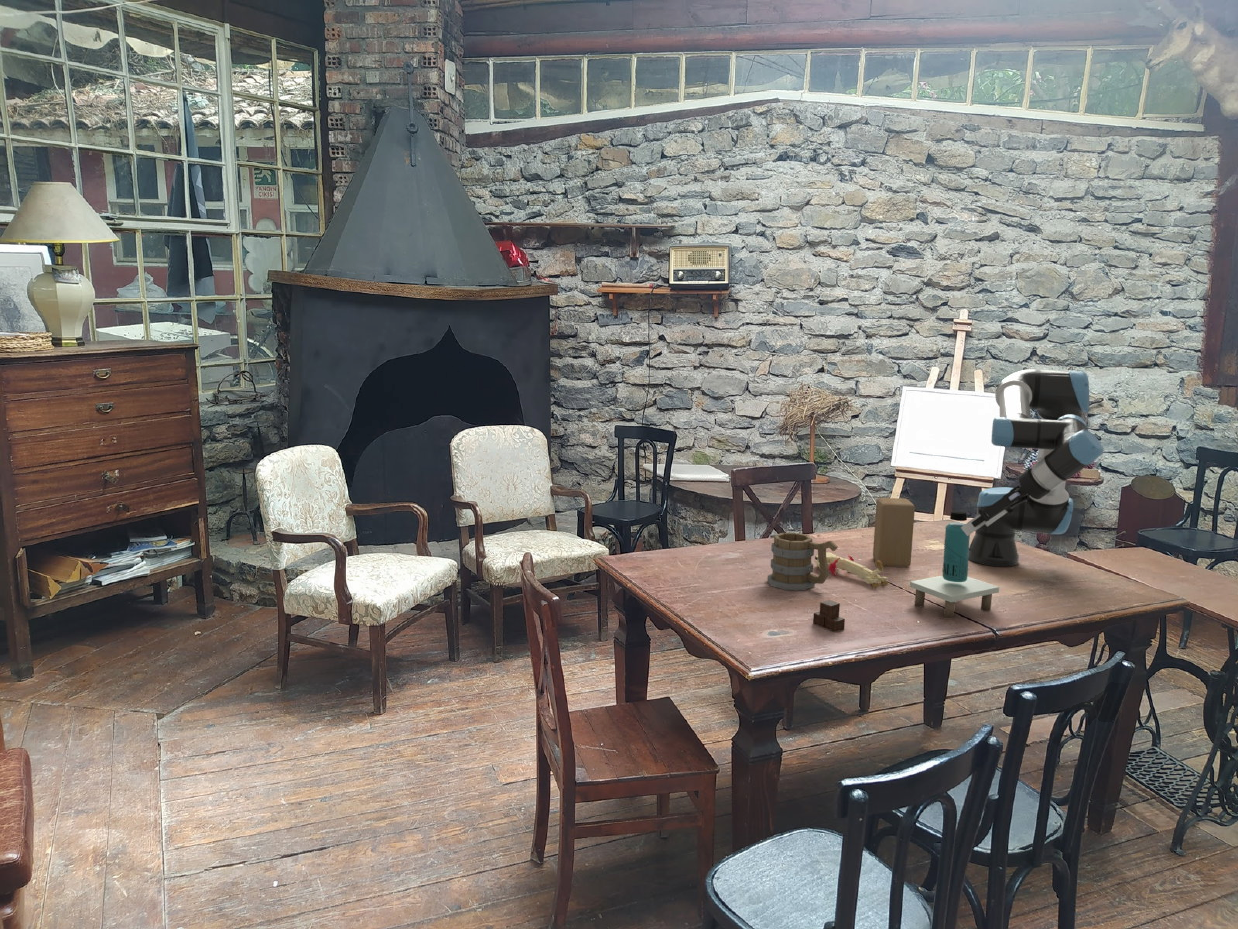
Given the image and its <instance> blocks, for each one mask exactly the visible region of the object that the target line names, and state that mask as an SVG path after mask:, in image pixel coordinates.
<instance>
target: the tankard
mask: <svg viewBox="0 0 1238 929" xmlns="http://www.w3.org/2000/svg"><path fill="white" fill-rule="evenodd" d="M838 548H839V547H838V545H837V544H836V543H834V542H833V540H828V541H825V542H820V543H817V542H813V539H812V538H811V537H810V535H808V534H803V533H799V532H781V533H777V534H775V535H774V536H773V543H771V548H770V550H771V552H772V553H773V556H772V559H770V568H771V571H772V573H770V574H768V575H767V577H766V578H767V582H768V583H769V585H770V587H773V588H775V589H778V590H779V589H781V590H784V591H803V592H804V591H806V590H808V589H812V588H813V587H815V586H816V584H820V585H821V584H822V585H823V584H824V583H825V582H826V581H827V579H828V578H829V572H830V570H829V567H828V563H827V559H826V552H827V549H830V550H831V551H832V552H835V551H836V550H837V549H838ZM815 550H817V556H818V560H819V564H820V567H819V568H821V569H820V573H819V575H815V574H812V573H813V572H814V564H813V563H812V557H813V556H814V555H815Z"/></svg>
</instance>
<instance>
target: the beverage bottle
mask: <svg viewBox="0 0 1238 929" xmlns="http://www.w3.org/2000/svg"><path fill="white" fill-rule="evenodd" d="M967 515H968V514H967V512H966V511H962V510H951V512H950V516H949V519H950V520H952V521H955V522H950V523H948V524H947V525H946V526H945V528H944V529H945V532H944V533H945V534H944V545H943V548H944V549H943V557H942V559H943V562H942V569H941V570H942V571H941V572H942V575H941V576H943V578H944V579H945V580H947V581H951V582H965V581H966V580H967V576H969V572H968V571H969V559H968V554H969V547H970V538H971V537H970V535H971V534H970V535H969V536H967V535H966V534H965V532H964V531H963V530H962V529H961V527H962V526H963V525H965V524H966V523H963V522H966V521H967V520H968V516H967Z"/></svg>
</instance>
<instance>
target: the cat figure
mask: <svg viewBox="0 0 1238 929" xmlns="http://www.w3.org/2000/svg"><path fill="white" fill-rule="evenodd" d="M847 557H848V558H843V557H841V556H839V555H837V554H836V553H832V552H829V551H826V559H827V563H828V567H829V572H830V573H831V575H833V576H834V577H835V576H837V575H836V572H835V571H836V569H839V570H841V571H846V572H847V573H848V574H849V573H850V574H852V575H855V576H857V578H860V579H861V580H864V581H865V582H864V583H865V584H868V585H871V587H872V588H873V589H878V588H880V585H881V587H887V585H888V584H889V580H888V577H887V576H882V577H881V575H880V573H882V572H883V571H884V570H885V569H884V566H883V565H882V563H881V561H879V560H878V561H875V566H876V567H877V568H876V569H875V570H871V569H869V568H867V567H866V566H865V565H862V564H860V563H857V562H855V560H854V558H853V556H850V555H848V556H847ZM814 562H815V564H816V566H817V567H819V570H821V568H820V564H819V560H818V555H816V556H814Z"/></svg>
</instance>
